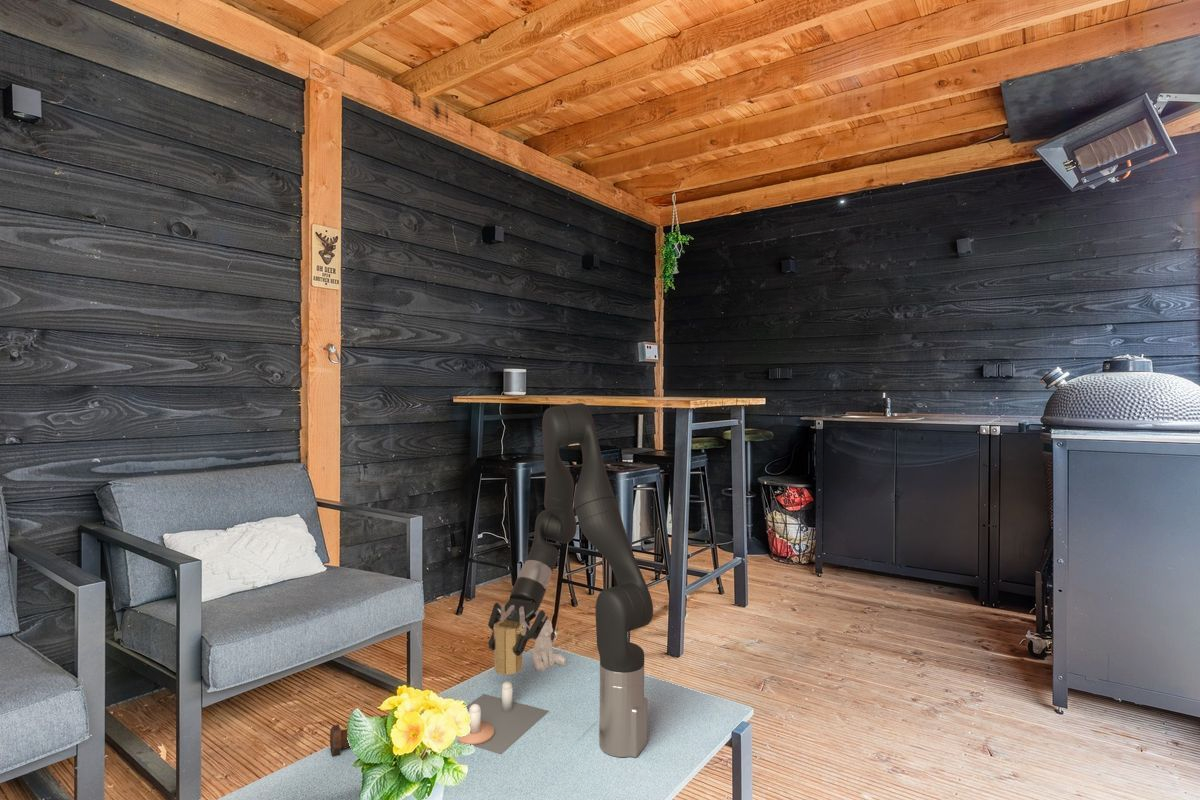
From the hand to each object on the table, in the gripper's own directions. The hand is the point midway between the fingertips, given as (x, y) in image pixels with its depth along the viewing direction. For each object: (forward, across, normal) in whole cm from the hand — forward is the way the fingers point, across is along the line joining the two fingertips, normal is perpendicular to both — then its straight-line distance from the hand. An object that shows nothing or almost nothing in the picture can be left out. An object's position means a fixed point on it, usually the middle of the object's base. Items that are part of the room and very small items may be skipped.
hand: (503, 651), depth 144 cm
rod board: (+14, 0, +8) cm, 16 cm away
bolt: (+25, -19, -4) cm, 32 cm away
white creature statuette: (-9, -7, +31) cm, 33 cm away
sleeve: (+2, 0, +4) cm, 5 cm away
